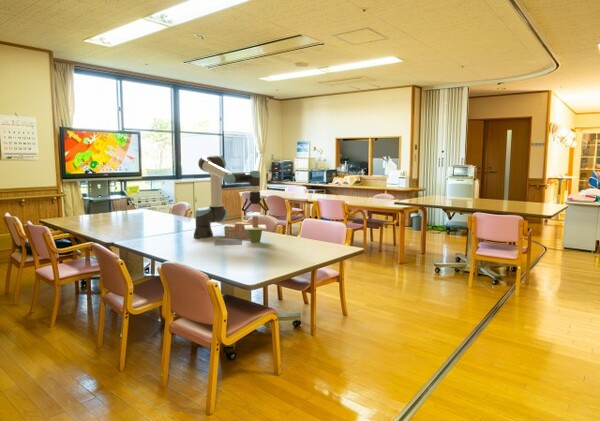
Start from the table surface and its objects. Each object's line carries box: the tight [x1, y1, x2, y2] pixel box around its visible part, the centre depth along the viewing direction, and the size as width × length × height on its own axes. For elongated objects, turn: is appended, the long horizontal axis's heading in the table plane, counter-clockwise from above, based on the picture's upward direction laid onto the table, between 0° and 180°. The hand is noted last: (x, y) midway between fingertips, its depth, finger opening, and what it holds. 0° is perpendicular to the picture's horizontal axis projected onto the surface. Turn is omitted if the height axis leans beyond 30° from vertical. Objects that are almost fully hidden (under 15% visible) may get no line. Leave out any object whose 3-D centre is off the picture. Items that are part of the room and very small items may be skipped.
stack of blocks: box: [223, 221, 252, 239], centre depth 325 cm, size 21×6×12 cm, turn 75°
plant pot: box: [248, 230, 263, 244], centre depth 307 cm, size 12×12×11 cm
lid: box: [244, 214, 268, 231], centre depth 306 cm, size 16×16×9 cm
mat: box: [213, 238, 243, 247], centre depth 305 cm, size 20×20×1 cm
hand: (255, 219), depth 306 cm, fingers open, 13 cm apart
